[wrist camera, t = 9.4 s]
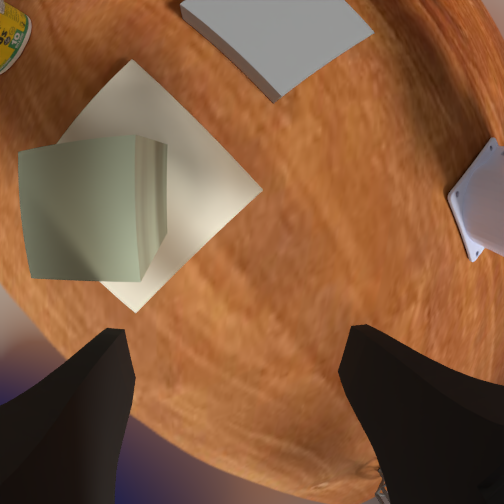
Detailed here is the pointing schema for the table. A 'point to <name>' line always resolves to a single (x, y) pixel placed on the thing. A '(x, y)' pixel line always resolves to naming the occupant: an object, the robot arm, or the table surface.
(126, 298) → the pale ash block
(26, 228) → the sage green block
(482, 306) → the table surface
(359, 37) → the slate grey block
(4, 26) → the supplement bottle
